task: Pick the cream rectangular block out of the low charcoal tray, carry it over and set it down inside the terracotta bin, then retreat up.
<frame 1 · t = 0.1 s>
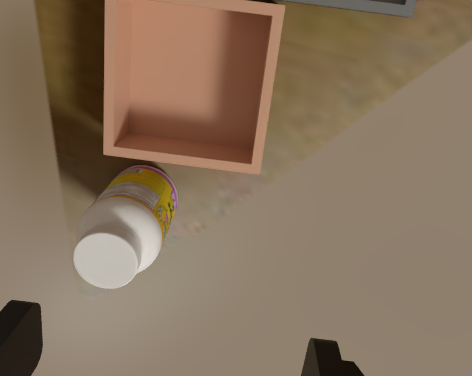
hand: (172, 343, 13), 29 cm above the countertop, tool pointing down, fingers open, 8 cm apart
bin: (196, 76, 39), on the countertop
supplement bottle: (146, 193, 43), on the countertop
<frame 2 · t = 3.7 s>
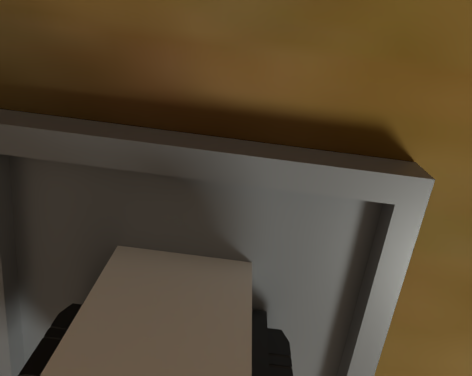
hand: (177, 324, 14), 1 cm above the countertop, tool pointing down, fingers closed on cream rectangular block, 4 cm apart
tray: (186, 310, 14), on the countertop
cream rectangular block: (178, 322, 14), point 1 cm above the countertop, touching gripper, tray
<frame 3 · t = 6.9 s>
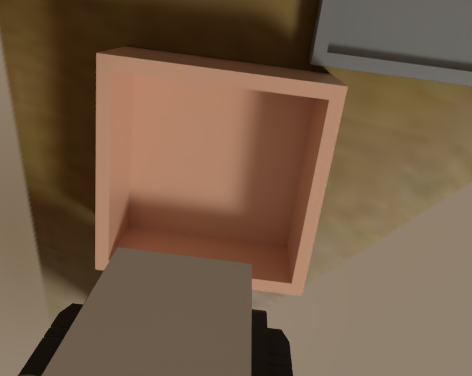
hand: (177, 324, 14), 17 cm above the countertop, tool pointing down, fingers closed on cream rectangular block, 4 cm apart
bin: (217, 157, 30), on the countertop
cream rectangular block: (178, 323, 14), point 17 cm above the countertop, touching gripper
when the fingers open (3 cm above the countertop, at t = 10.3 s): cream rectangular block drops 2 cm, resting on bin.
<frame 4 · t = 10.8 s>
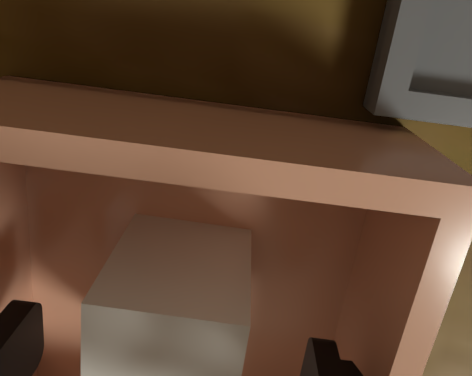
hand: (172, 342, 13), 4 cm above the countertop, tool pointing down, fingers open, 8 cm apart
bin: (190, 271, 16), on the countertop
cream rectangular block: (186, 283, 16), point 1 cm above the countertop, touching bin
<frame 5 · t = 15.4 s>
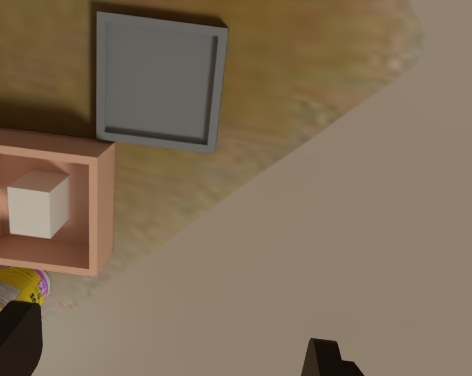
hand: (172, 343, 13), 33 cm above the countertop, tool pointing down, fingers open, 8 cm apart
tray: (161, 84, 43), on the countertop
bin: (55, 191, 47), on the countertop
supplement bottle: (25, 278, 52), on the countertop
cream rectangular block: (51, 193, 47), point 1 cm above the countertop, touching bin
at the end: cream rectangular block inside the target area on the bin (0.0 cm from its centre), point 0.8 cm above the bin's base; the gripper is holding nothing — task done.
